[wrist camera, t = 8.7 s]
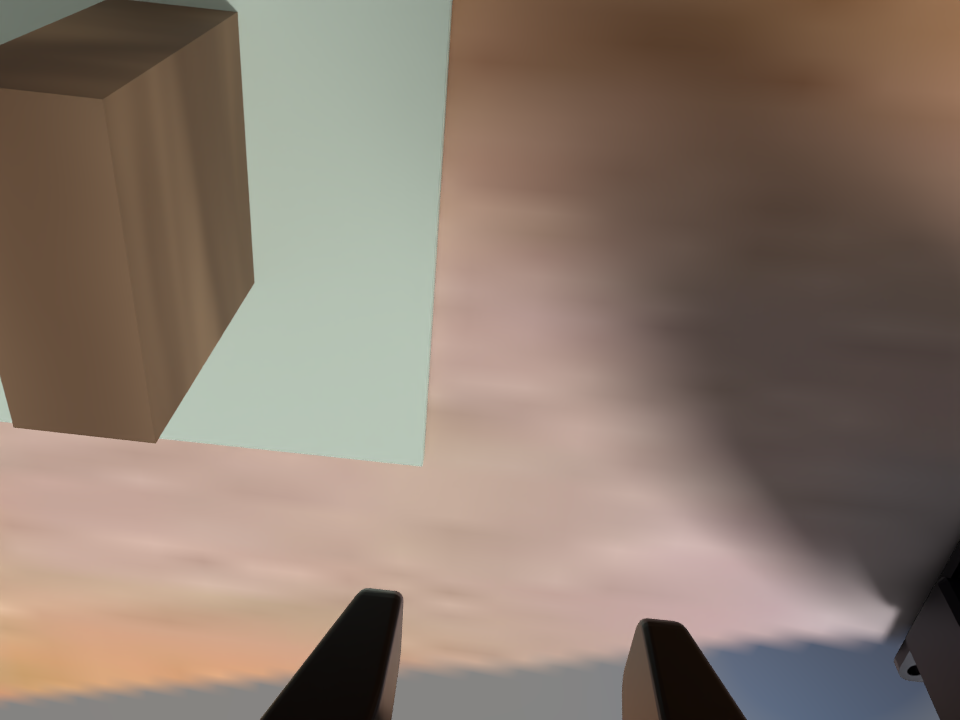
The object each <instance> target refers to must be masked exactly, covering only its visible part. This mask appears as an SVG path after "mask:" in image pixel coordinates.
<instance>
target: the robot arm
mask: <svg viewBox="0 0 960 720" xmlns="http://www.w3.org/2000/svg"><path fill="white" fill-rule="evenodd" d="M402 619H403V596H402V594H400V593H399V592H397V591H390V590H381V589H372V588H366V589H363V590H361V591H360V592H359V593H358V594H357V595H356V596H355V597H354V599H353V600H352V601H351V603H350V604H349V605H348V606H347V608H346V609H345V610H344V612H343V613H342V614H341V616H340V617H339V618H338V619H337V621H336V622H335V623H334V625H333V626H332V627H331V628H330V630H329V631H328V632H327V634H326V635H325V636H324V637H323V639H322V640H321V641H320V643H319V644H318V645H317V647H316V648H315V649H314V650H313V652H312V653H311V654H310V656H309V657H308V658H307V659H306V661H305V662H304V663H303V665H302V666H301V667H300V668H299V670H298V671H297V672H296V674H295V675H294V676H293V678H292V679H291V680H290V681H289V683H288V684H287V685H286V687H285V688H284V689H283V690H282V692H281V693H280V694H279V696H278V697H277V698H276V700H275V701H274V702H273V703H272V705H271V706H270V707H269V709H268V710H267V711H266V712H265V714H264V715H263V716H262V718H261V719H260V720H391V719H392V712H393V705H394V698H395V691H396V684H397V677H398V670H399V662H400V653H401V639H402ZM894 663H895V666H896V668H897V670H898V673H899V675H900V677H902V678H903V679H905V680H909V681H917V682H924V684H925V686H926V688H927V691H928V693H929V695H930V698H931V700H932V702H933V704H934V707H935V709H936V711H937V714H938V716H939V718H940V720H960V541H959V543H958V544H957V546H956V548H955V550H954V552H953V553H952V555H951V557H950V559H949V561H948V562H947V564H946V566H945V568H944V570H943V572H942V573H941V575H940V577H939V579H938V581H937V582H936V584H935V585H934V587H933V589H932V591H931V592H930V594H929V596H928V598H927V600H926V602H925V603H924V605H923V607H922V609H921V611H920V612H919V614H918V616H917V618H916V620H915V621H914V623H913V625H912V627H911V629H910V630H909V632H908V634H907V636H906V638H905V640H904V642H903V644H902V646H901V647H900V649H899V651H898V653H897V655H896V657H895V660H894ZM622 720H747V719H746V718H745V716H744V715H743V713H742V712H741V710H740V709H739V707H738V706H737V704H736V703H735V701H734V700H733V698H732V697H731V695H730V694H729V692H728V691H727V689H726V688H725V686H724V685H723V683H722V682H721V680H720V679H719V677H718V676H717V674H716V673H715V671H714V670H713V668H712V666H711V665H710V664H709V662H708V660H707V659H706V657H705V656H704V654H703V653H702V651H701V650H700V648H699V647H698V645H697V644H696V642H695V641H694V639H693V638H692V636H691V635H690V633H689V632H688V630H687V629H686V628H685V627H684V626H683V625H682V624H680V623H679V622H675V621H668V620H659V619H649V618H646V619H642V620H641V621H640V622H639V623H638V625H637V627H636V630H635V634H634V637H633V641H632V645H631V648H630V652H629V655H628V659H627V662H626V666H625V670H624V675H623V685H622Z"/></svg>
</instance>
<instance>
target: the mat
mask: <svg viewBox="0 0 960 720" xmlns="http://www.w3.org/2000/svg"><path fill="white" fill-rule="evenodd" d="M102 1H104V0H0V45H1V44H4V43H6V42H8V41H11V40H13V39H15V38H18V37H20V36H22V35H25V34H27V33H29V32H32V31H34V30H36V29H39V28H41V27H43V26H46V25H48V24H51V23H53V22H55V21H58V20H60V19H62V18H65V17H67V16H69V15H72V14H74V13H76V12H79V11H81V10H83V9H86V8H88V7H90V6H93V5H95V4H97V3H100V2H102ZM134 1H143V2H152V3H161V4H170V5H179V6H188V7H197V8H206V9H215V10H224V11H233V12H238V27H239V43H240V59H241V75H242V91H243V107H244V123H245V139H246V155H247V171H248V187H249V203H250V218H251V234H252V250H253V266H254V282H255V283H254V285H253V286H252V288H251V289H250V291H249V293H248V294H247V296H246V298H245V299H244V301H243V302H242V304H241V306H240V307H239V309H238V311H237V312H236V314H235V315H234V317H233V319H232V320H231V322H230V324H229V325H228V327H227V328H226V330H225V332H224V333H223V335H222V337H221V338H220V340H219V341H218V343H217V345H216V346H215V348H214V350H213V351H212V353H211V354H210V356H209V358H208V359H207V361H206V363H205V364H204V366H203V367H202V369H201V371H200V372H199V374H198V376H197V377H196V379H195V380H194V382H193V384H192V385H191V387H190V389H189V390H188V392H187V393H186V395H185V397H184V398H183V400H182V402H181V403H180V405H179V406H178V408H177V410H176V411H175V413H174V415H173V416H172V418H171V419H170V421H169V423H168V424H167V426H166V427H165V429H164V431H163V432H162V434H161V436H160V437H159V438H160V439H169V440H178V441H188V442H197V443H207V444H216V445H225V446H235V447H244V448H253V449H263V450H272V451H281V452H291V453H300V454H310V455H319V456H328V457H338V458H347V459H356V460H366V461H375V462H384V463H394V464H403V465H413V466H422V465H423V460H424V449H425V433H426V417H427V401H428V385H429V369H430V353H431V337H432V321H433V305H434V289H435V272H436V256H437V240H438V224H439V208H440V192H441V176H442V160H443V144H444V128H445V112H446V96H447V79H448V63H449V47H450V31H451V15H452V0H134ZM0 422H10V423H12V419H11V415H10V412H9V408H8V404H7V400H6V397H5V393H4V389H3V386H2V382H1V378H0Z"/></svg>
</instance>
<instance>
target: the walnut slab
mask: <svg viewBox="0 0 960 720" xmlns="http://www.w3.org/2000/svg"><path fill="white" fill-rule="evenodd" d="M254 283H255V282H254V266H253V250H252V234H251V218H250V203H249V187H248V171H247V155H246V139H245V123H244V107H243V91H242V75H241V59H240V43H239V27H238V12H233V11H224V10H215V9H206V8H197V7H188V6H179V5H170V4H161V3H152V2H143V1H134V0H104V1H102V2H100V3H97V4H95V5H93V6H90V7H88V8H86V9H83V10H81V11H79V12H76V13H74V14H72V15H69V16H67V17H65V18H62V19H60V20H58V21H55V22H53V23H51V24H48V25H46V26H43V27H41V28H39V29H36V30H34V31H32V32H29V33H27V34H25V35H22V36H20V37H18V38H15V39H13V40H11V41H8V42H6V43H4V44H1V45H0V378H1V382H2V386H3V389H4V393H5V397H6V400H7V404H8V408H9V412H10V415H11V419H12V423H13V426H14V427H15V428H24V429H32V430H41V431H50V432H59V433H68V434H77V435H86V436H95V437H104V438H113V439H122V440H130V441H139V442H148V443H156V442H157V440H158V439H159V437H160V436H161V434H162V432H163V431H164V429H165V427H166V426H167V424H168V423H169V421H170V419H171V418H172V416H173V415H174V413H175V411H176V410H177V408H178V406H179V405H180V403H181V402H182V400H183V398H184V397H185V395H186V393H187V392H188V390H189V389H190V387H191V385H192V384H193V382H194V380H195V379H196V377H197V376H198V374H199V372H200V371H201V369H202V367H203V366H204V364H205V363H206V361H207V359H208V358H209V356H210V354H211V353H212V351H213V350H214V348H215V346H216V345H217V343H218V341H219V340H220V338H221V337H222V335H223V333H224V332H225V330H226V328H227V327H228V325H229V324H230V322H231V320H232V319H233V317H234V315H235V314H236V312H237V311H238V309H239V307H240V306H241V304H242V302H243V301H244V299H245V298H246V296H247V294H248V293H249V291H250V289H251V288H252V286H253V285H254Z"/></svg>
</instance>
